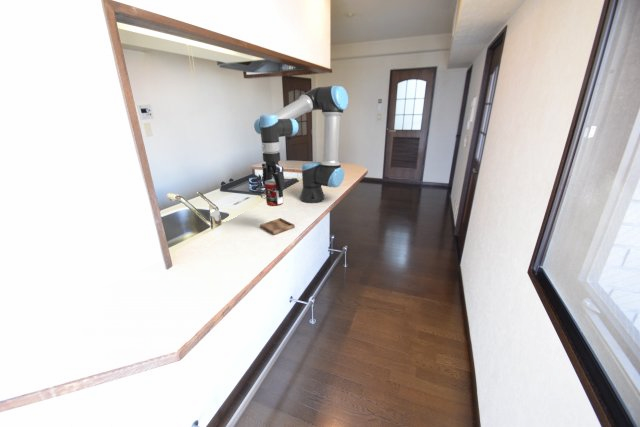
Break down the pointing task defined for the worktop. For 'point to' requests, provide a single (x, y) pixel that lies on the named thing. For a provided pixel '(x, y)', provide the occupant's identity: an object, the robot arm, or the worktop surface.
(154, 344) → the worktop surface
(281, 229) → the coaster board
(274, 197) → the canned food
